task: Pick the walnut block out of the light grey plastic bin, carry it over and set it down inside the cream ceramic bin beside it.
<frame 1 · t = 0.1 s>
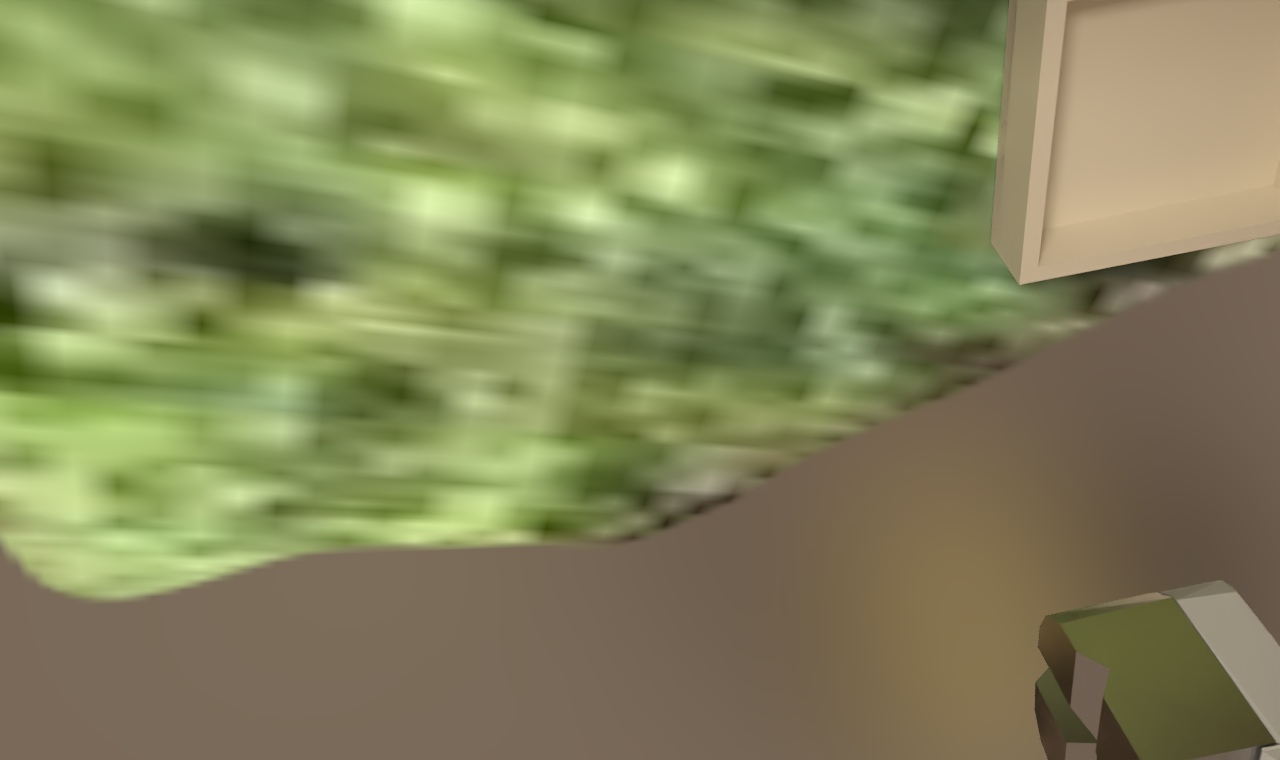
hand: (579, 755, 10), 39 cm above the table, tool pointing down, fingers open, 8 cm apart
cream bin: (1156, 80, 52), on the table
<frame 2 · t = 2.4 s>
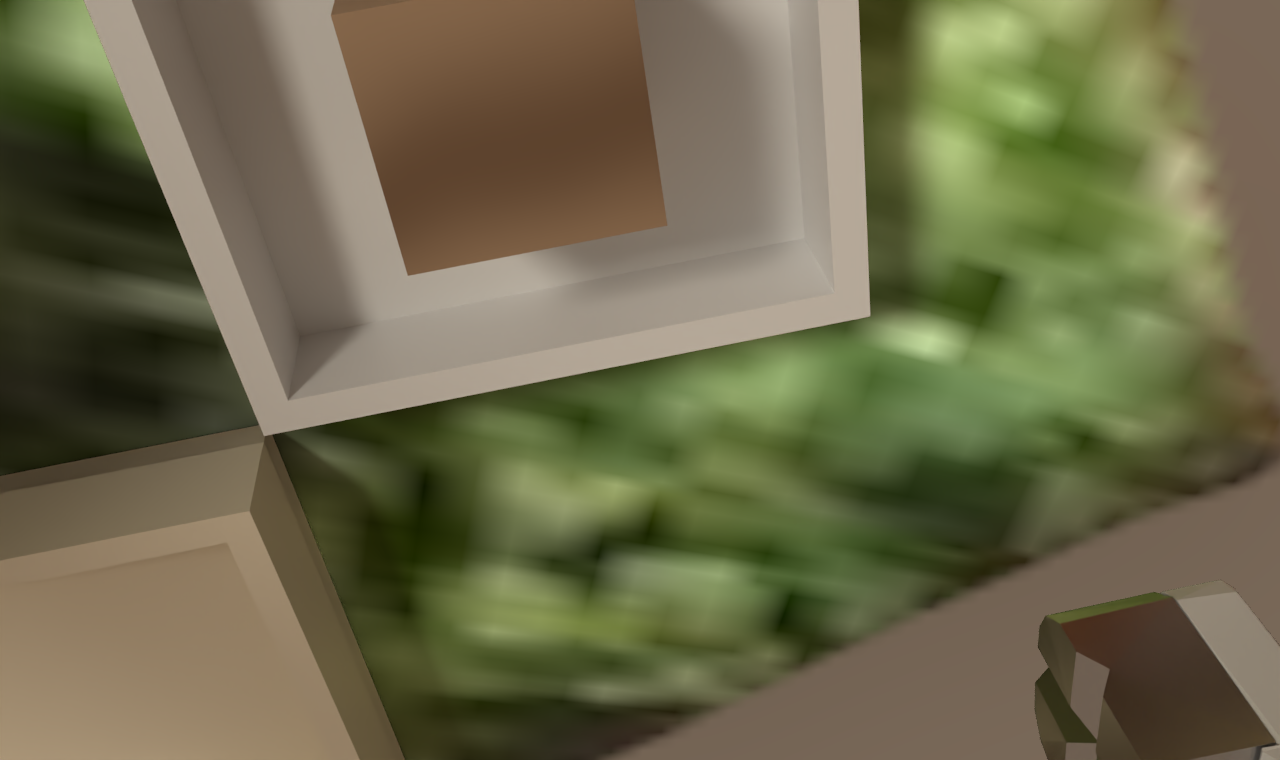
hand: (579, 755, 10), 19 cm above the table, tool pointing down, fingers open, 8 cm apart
cream bin: (106, 659, 35), on the table
walnut block: (500, 37, 25), point 1 cm above the table, touching grey bin
grey bin: (498, 25, 26), on the table
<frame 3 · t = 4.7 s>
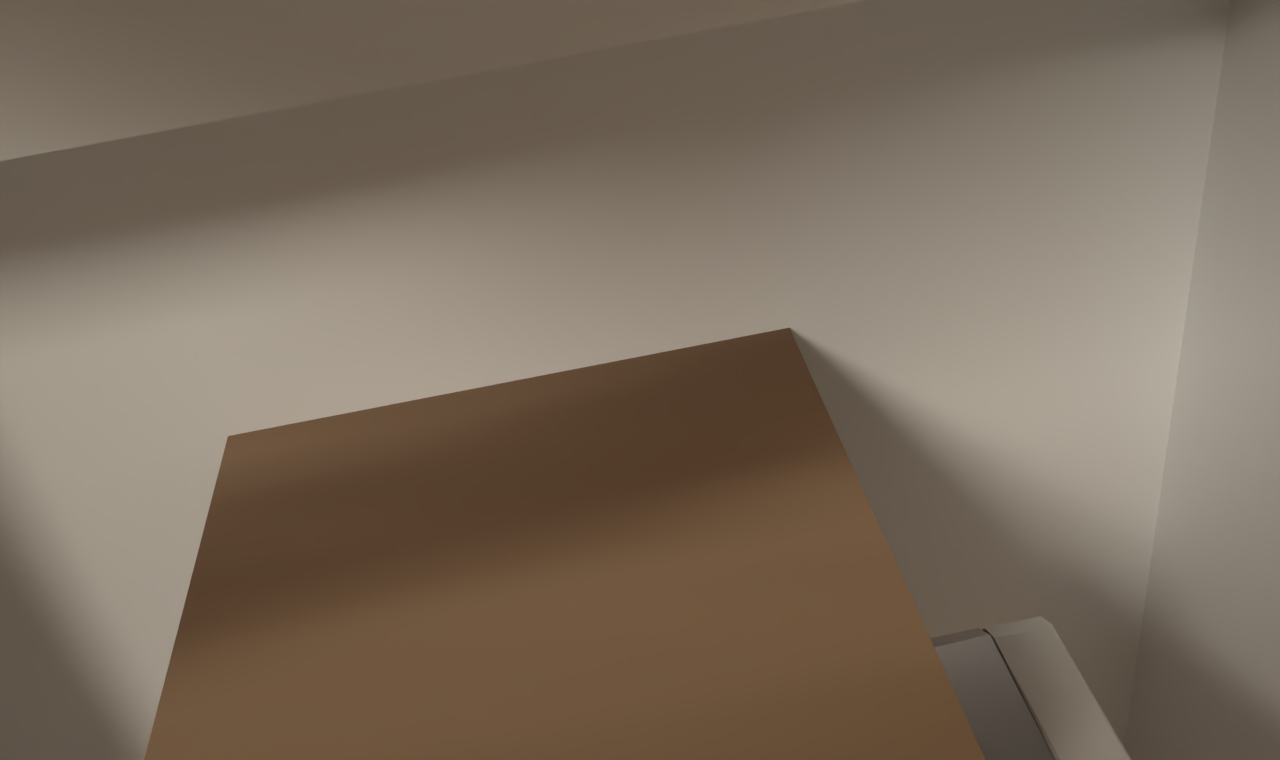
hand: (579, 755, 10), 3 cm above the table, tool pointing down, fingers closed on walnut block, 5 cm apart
walnut block: (561, 584, 12), point 1 cm above the table, touching grey bin, gripper
grey bin: (555, 531, 13), on the table
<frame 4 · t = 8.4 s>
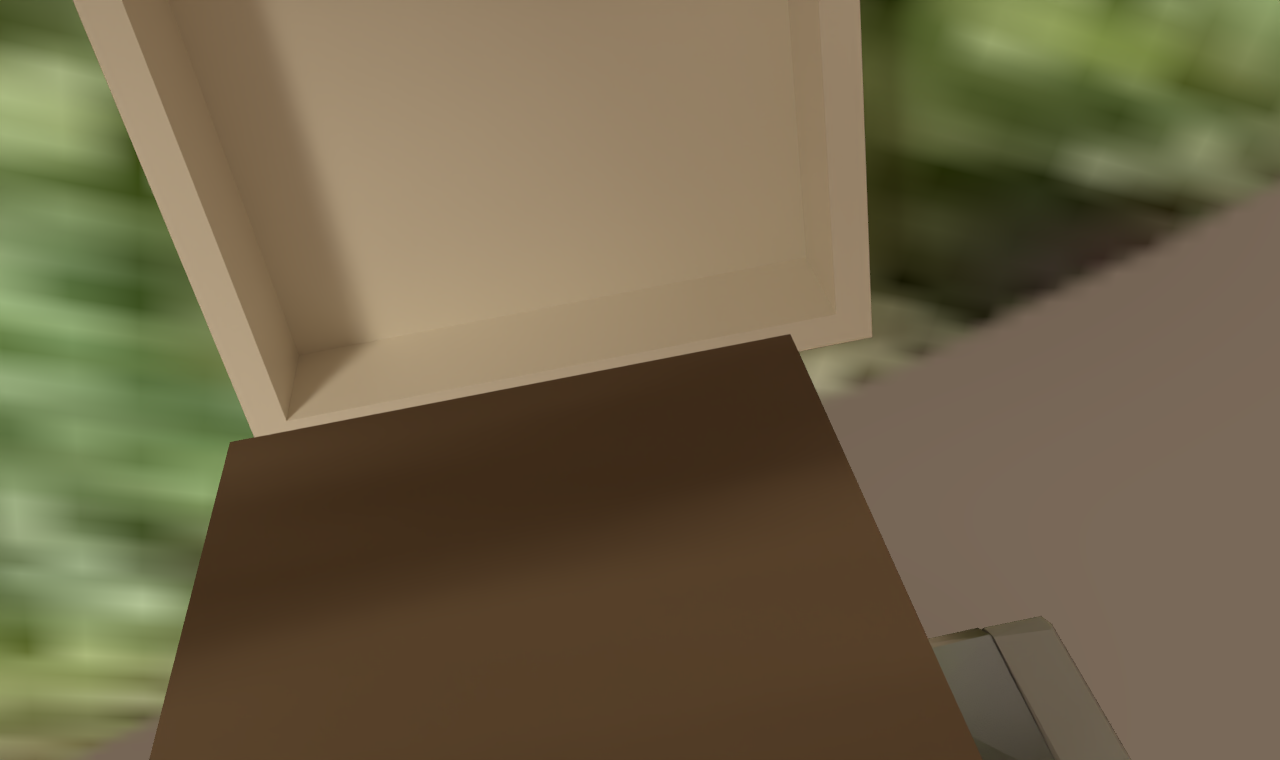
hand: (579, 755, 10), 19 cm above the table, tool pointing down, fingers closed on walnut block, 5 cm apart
cream bin: (499, 45, 26), on the table
walnut block: (562, 589, 12), point 17 cm above the table, touching gripper
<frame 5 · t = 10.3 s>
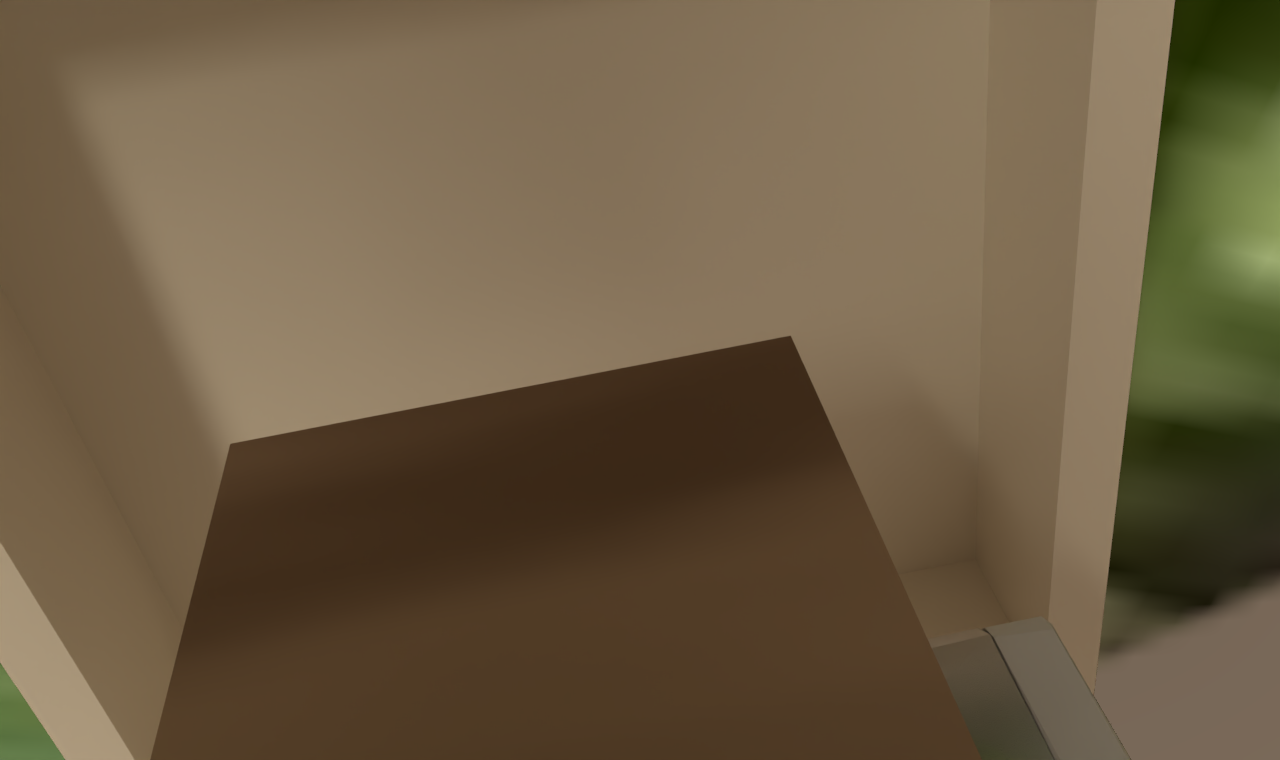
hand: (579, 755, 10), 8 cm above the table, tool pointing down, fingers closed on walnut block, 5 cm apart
cream bin: (525, 285, 16), on the table
walnut block: (562, 591, 12), point 6 cm above the table, touching gripper
when the fingers open (5 cm above the table, at t = 11.8 s): walnut block drops 2 cm, resting on cream bin.
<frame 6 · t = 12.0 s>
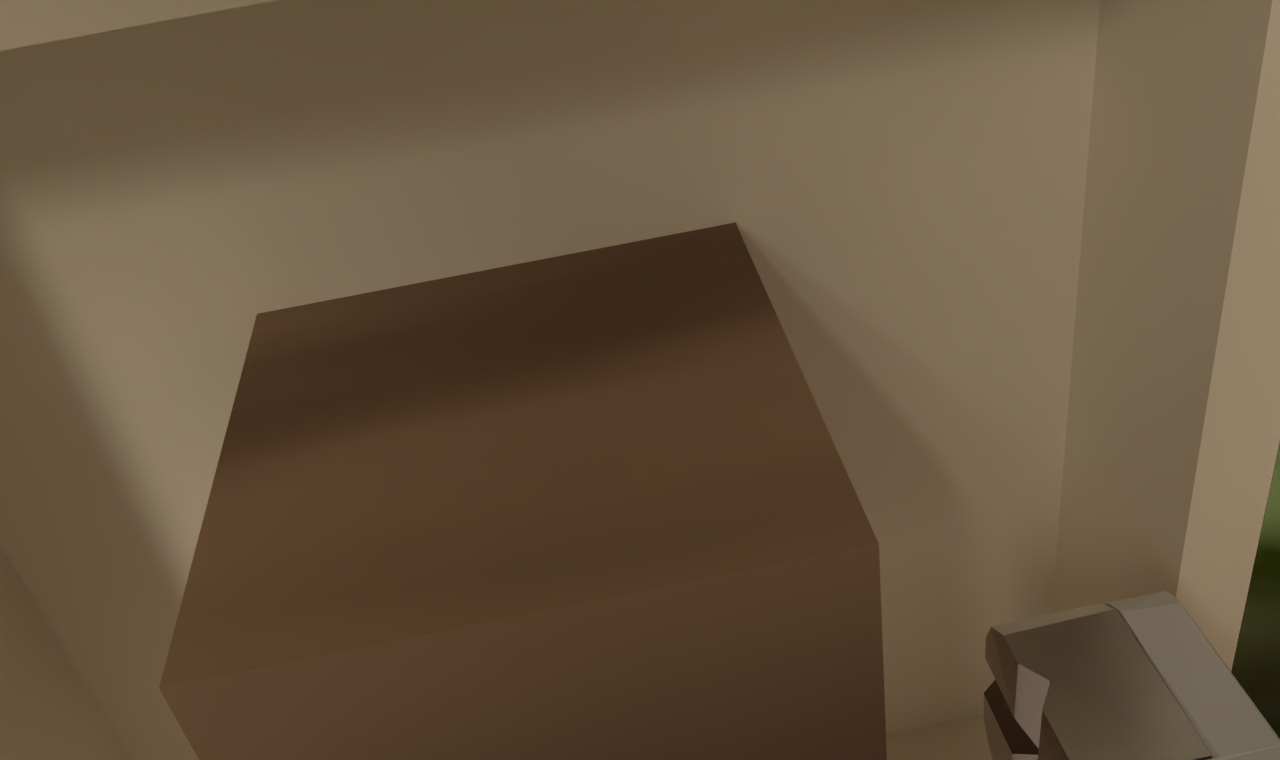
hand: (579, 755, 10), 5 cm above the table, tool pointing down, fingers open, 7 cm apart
cream bin: (543, 414, 14), on the table
walnut block: (543, 456, 14), point 1 cm above the table, touching cream bin
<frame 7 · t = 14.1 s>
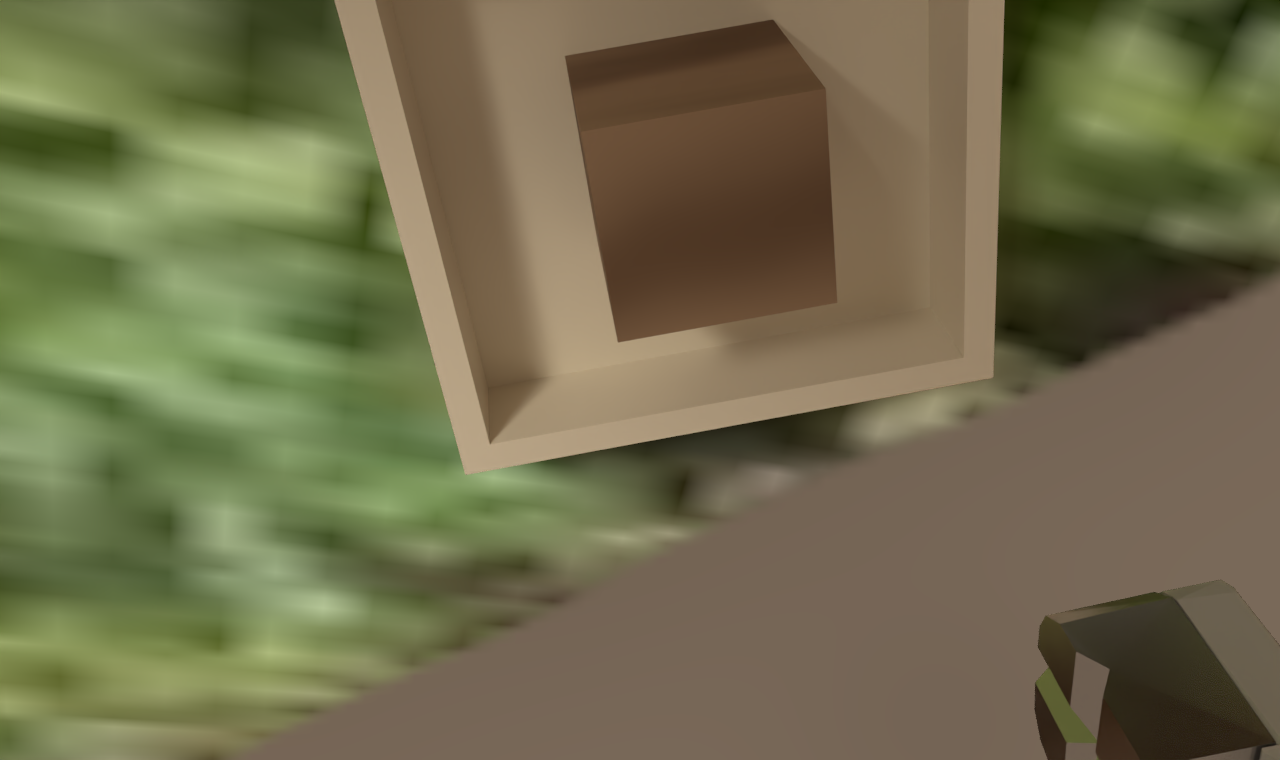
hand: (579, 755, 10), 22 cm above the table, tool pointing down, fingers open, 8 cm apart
cream bin: (679, 124, 30), on the table
walnut block: (681, 137, 29), point 1 cm above the table, touching cream bin
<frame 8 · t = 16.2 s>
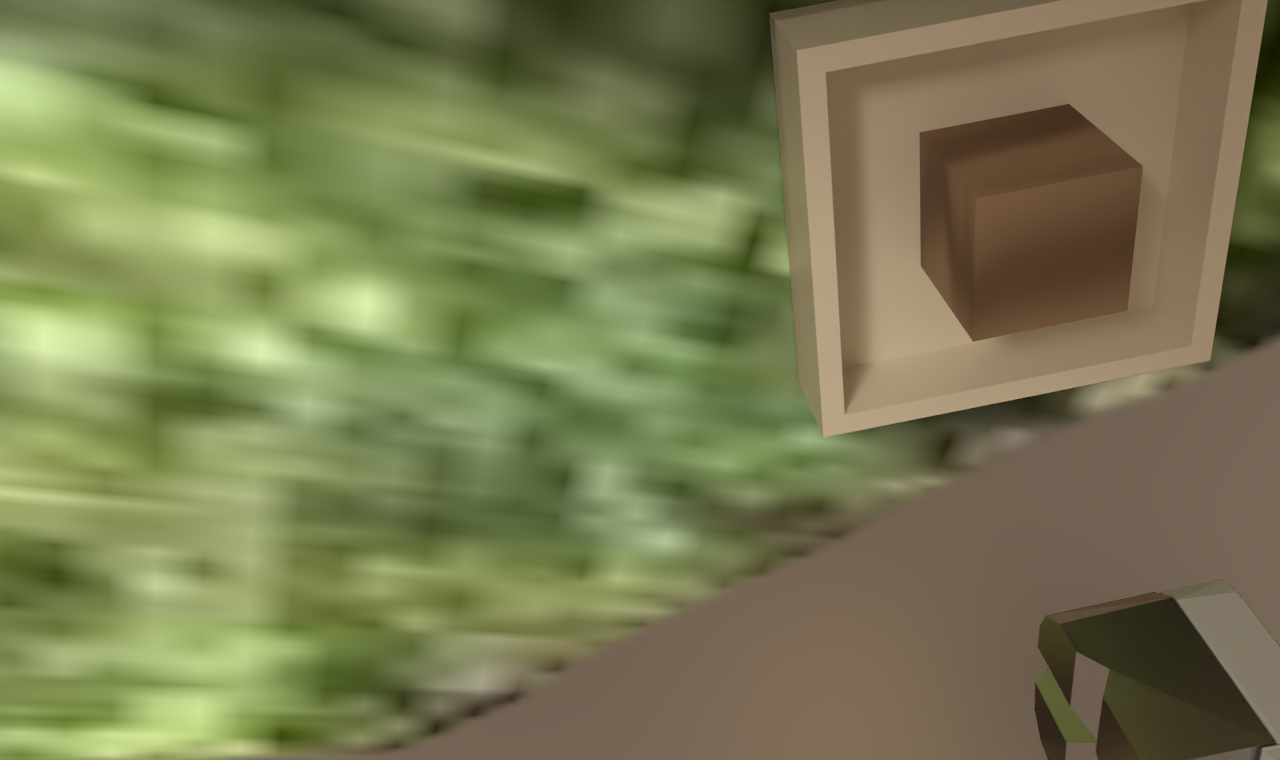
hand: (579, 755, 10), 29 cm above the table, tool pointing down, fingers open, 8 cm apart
cream bin: (985, 177, 41), on the table
walnut block: (992, 187, 40), point 1 cm above the table, touching cream bin
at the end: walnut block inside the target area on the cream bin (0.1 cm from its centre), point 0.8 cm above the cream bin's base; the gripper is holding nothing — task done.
